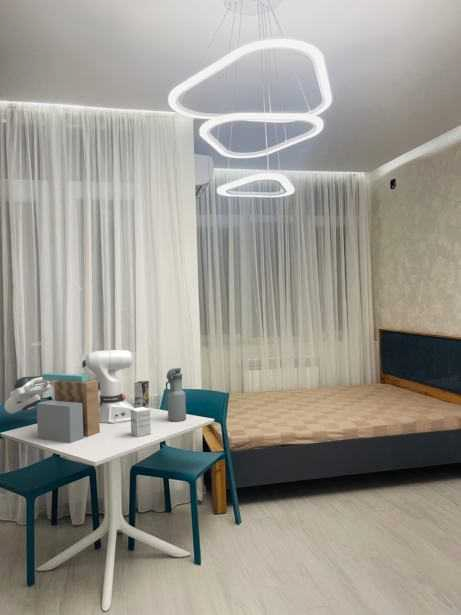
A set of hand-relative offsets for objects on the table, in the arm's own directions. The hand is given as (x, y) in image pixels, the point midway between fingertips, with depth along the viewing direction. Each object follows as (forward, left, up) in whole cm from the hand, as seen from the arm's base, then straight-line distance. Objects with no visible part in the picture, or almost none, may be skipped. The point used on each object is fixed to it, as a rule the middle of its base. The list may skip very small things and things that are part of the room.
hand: (40, 383), depth 243 cm
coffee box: (-56, -28, -24) cm, 67 cm away
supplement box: (-48, +35, -24) cm, 64 cm away
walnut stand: (-18, +18, -24) cm, 35 cm away
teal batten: (-13, +12, +2) cm, 17 cm away
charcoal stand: (-10, +25, -24) cm, 36 cm away
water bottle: (-70, +13, -24) cm, 75 cm away
